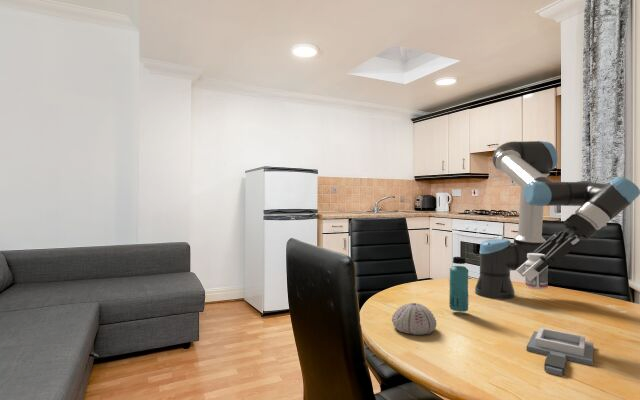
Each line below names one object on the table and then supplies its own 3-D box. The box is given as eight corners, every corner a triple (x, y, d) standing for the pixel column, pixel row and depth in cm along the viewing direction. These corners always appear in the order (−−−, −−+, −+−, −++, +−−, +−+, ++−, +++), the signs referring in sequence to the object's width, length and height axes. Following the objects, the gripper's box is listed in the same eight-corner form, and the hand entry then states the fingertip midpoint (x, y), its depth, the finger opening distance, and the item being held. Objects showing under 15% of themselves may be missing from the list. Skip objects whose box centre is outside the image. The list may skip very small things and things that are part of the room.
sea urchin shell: (435, 340, 102) (435, 312, 102) (388, 334, 107) (388, 307, 107) (437, 325, 115) (437, 300, 115) (395, 320, 119) (395, 296, 119)
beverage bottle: (469, 312, 129) (469, 256, 129) (468, 317, 123) (468, 259, 123) (449, 309, 131) (450, 255, 131) (448, 314, 125) (448, 257, 125)
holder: (519, 365, 87) (519, 352, 87) (534, 335, 107) (534, 324, 107) (591, 384, 78) (591, 369, 78) (593, 347, 98) (593, 335, 98)
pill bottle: (544, 286, 109) (544, 253, 109) (550, 290, 103) (550, 255, 103) (523, 284, 111) (523, 252, 111) (527, 288, 105) (527, 254, 105)
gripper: (613, 234, 94) (543, 292, 98) (581, 229, 112) (523, 278, 116) (590, 213, 96) (522, 271, 99) (561, 212, 114) (505, 261, 118)
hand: (522, 275), depth 108 cm, fingers closed on pill bottle, 6 cm apart
